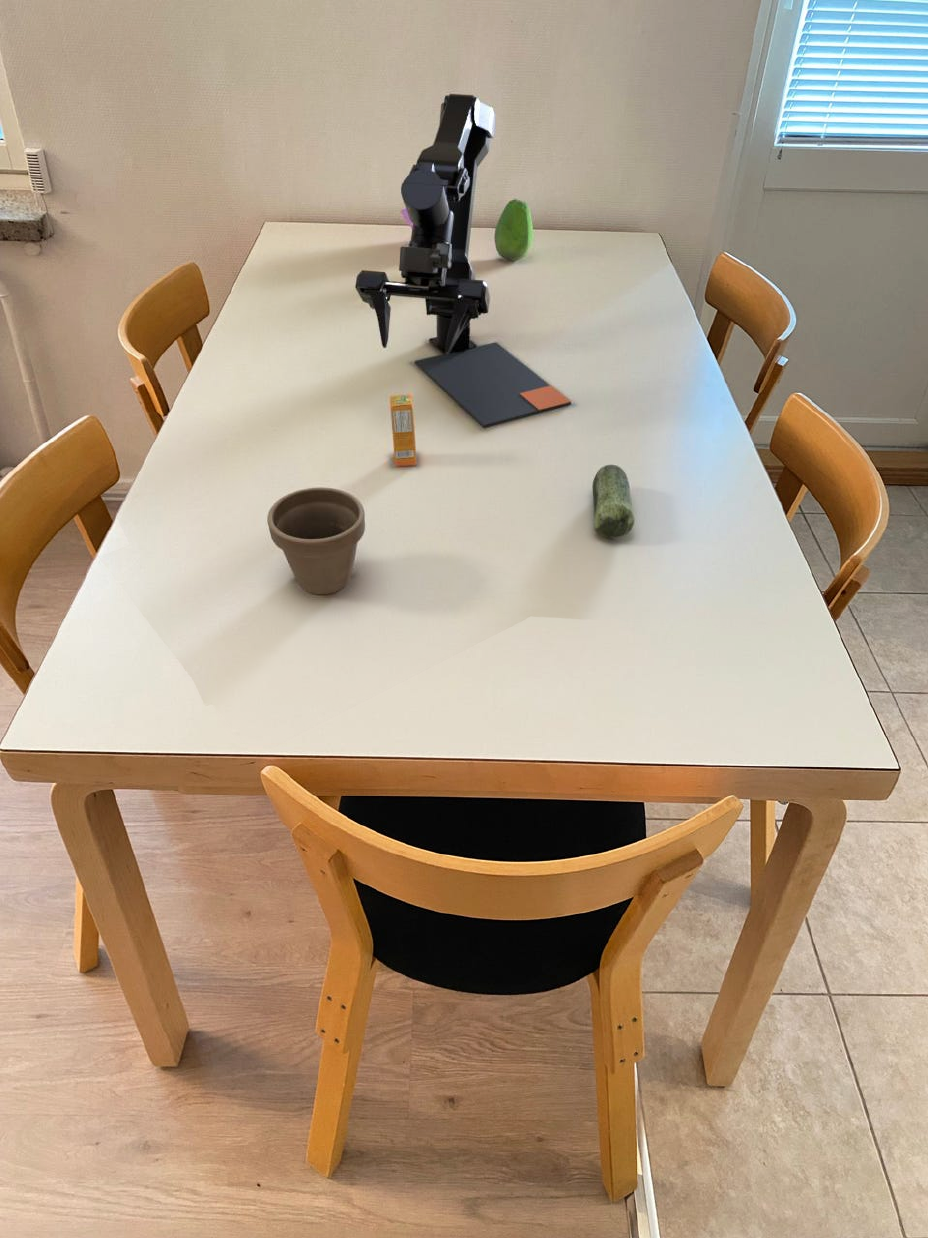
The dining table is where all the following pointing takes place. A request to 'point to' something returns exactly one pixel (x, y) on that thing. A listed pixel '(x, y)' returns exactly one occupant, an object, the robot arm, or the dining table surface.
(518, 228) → the avocado
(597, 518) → the vegetable
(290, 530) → the flower pot
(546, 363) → the dining table surface
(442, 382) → the mat
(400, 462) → the supplement box
